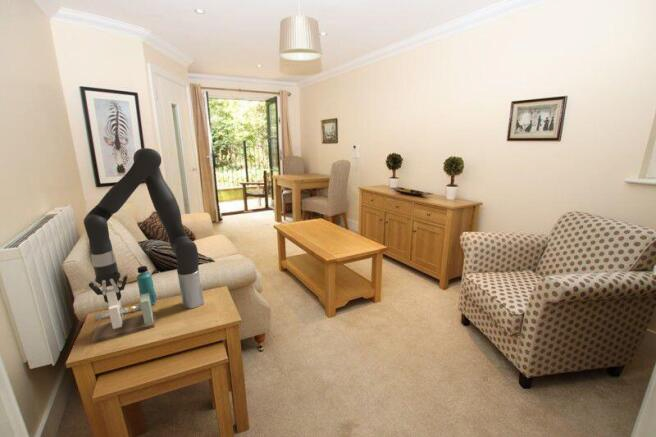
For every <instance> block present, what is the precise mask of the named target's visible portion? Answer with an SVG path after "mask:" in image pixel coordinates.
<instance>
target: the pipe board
mask: <svg viewBox="0 0 656 437" xmlns="http://www.w3.org/2000/svg"><path fill="white" fill-rule="evenodd" d="M155 325H156V312H155V311H153V323H149V324H145V323H144V318H143V314H140V315H137V316H132V317H129V318H124V319H123V323H122V327H119V328H115V329H113V327H112V323H111V322H108V323H104V324H99V325H96V327H95V329H94V332H93V335H92V338H91V343H92V344H96V343H99V342H103V341H107V340H111V339H114V338H115V339H116V338H119V337H122V336H125V335H130V334H134V333H137V332H138V333H139V332H140V331H144V330H145V331H146V330H149V329H152V328H155V327H156V326H155Z"/></svg>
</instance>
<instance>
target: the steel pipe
mask: <svg viewBox="0 0 656 437" xmlns="http://www.w3.org/2000/svg"><path fill="white" fill-rule="evenodd" d="M119 311H120V315H122V314H124V315H126V314H132V313H134V312H138V311H142V309H141V304H140V303H139V304H135V305H129V306H128V307H124V308H123V307H122V309H119ZM108 318H110V314H109V311H106V312H102V313H98V314H95V320H96V321H100V320H105V319H108ZM110 319H111V318H110Z"/></svg>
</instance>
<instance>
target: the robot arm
mask: <svg viewBox="0 0 656 437" xmlns="http://www.w3.org/2000/svg"><path fill="white" fill-rule="evenodd" d="M161 165H162V156H161V154H160V153H159V151H157V150H156V149H154V148H153V149H152V148H148V147H143V148H139V149H137V150H136V151H135V152H134V154H133V163H132V165H131V167H130V169H128V170H127V172H126V173H125V174H124V175H123V176H122V177H121V178H120V179H119V180H118V181H117V182H116V183H115V184H113V185H112V187H111V188H110V189H109V190H108V191H107V192H106V193H105V194H104V196H103V197H102V198H101V200H99V202H98V203H97V204H96V205H95V206H94V207H93V208H92V209H91V210H90V211H89V212H88V213H87V214H86V215H85V217H84V218H83V225H84V229H85V231H86V235H87V239H88V246H89V250H90V255H91V262H92V266H93V270H94V275H95V279H94V280H92V281H90V282H89V283H88V287H90V289H91V290H92V291H93V292H94V293H95V294H96V295H97V296H100V295H102V296H103V299H104V300H103V301H104V303H106V304H109V303H108V299H107V295H106V292H107V289H108V287H112V288H114V289H115V291H116V296H117V301H119V300H120V301H121V299H122V293H121V291H124V290H125V287H126V284H127V281H128V277H129V275H128V274H121V273H120V272H119V269H118V264H117V260H116V255H115V253H114V250H113V245H112V241H111V238H110V232H109V226H108V221H110V219H111V217H112V216H113V215H114V214H116V213H118V212H119V211H120V209H121V208H122V207H123V206H124V205H125V204H126V202H127V201H128V200H129V198H130V197H131V196H132V195H133V193H134V192H135V191H136V190H137V189H138V187H139V186H140V185H141V184H142V183H143V182H144V183H145V185H146V188H147V191H148V194H149V197H150V200H151V203H152V205H153V207H154V210H155V213H156V214H157V217H158V219H159V221H160V222H161V225H162V227H163V228H164V230H165V232H166V234H167V237H168V240H169V244H170V247H171V250H172V252H173V254H174V255H175V256H176V261H177V262H176V263H177V267H176V273H177V277H178V283H179V289H180V294H181V295H180V297H181V302H182V307H183V308H184V309H195V308H197V307H200V306H202V305H204V304H205V301H204V295H203V293H204V292H203V287H202V282H201V276H200V271H199V264H200V262H199V261H200V260H199V251H198V246H197V244H196V243H195V242H194V241H193V240H192V239H190V238H189V236H188V235H187V232H186V231H185V229H184V227H183V220H182V213H181V208H180V206H179V204H178V201H177V198H176V197H175V194H174V192H173V191H172V190H171V188H170V187H169V184H168V183H167V182H166V180H165V179H164V176H163V174H162V170H161V168H160V166H161ZM119 280H121V281H122V283H121V286H119V283H118V282H119ZM97 284H99V285H100V286H102V287H101V288H100V287H98V285H97Z"/></svg>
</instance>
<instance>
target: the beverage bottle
mask: <svg viewBox="0 0 656 437" xmlns="http://www.w3.org/2000/svg"><path fill="white" fill-rule="evenodd" d="M148 271H149V270H148V266H146V265H143V266H142V265H141V266H139V267H137V273H138V275H137V276H136V281H137V286H138V292H139V297H140V299H141V294H146V293H149V295H150V300H151V305H153V304H155V303H156V302H157V300H158V299H157V295H156V291H155V285H154V284H155V283H154V281H153V277H152V273H150V272H148Z"/></svg>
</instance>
